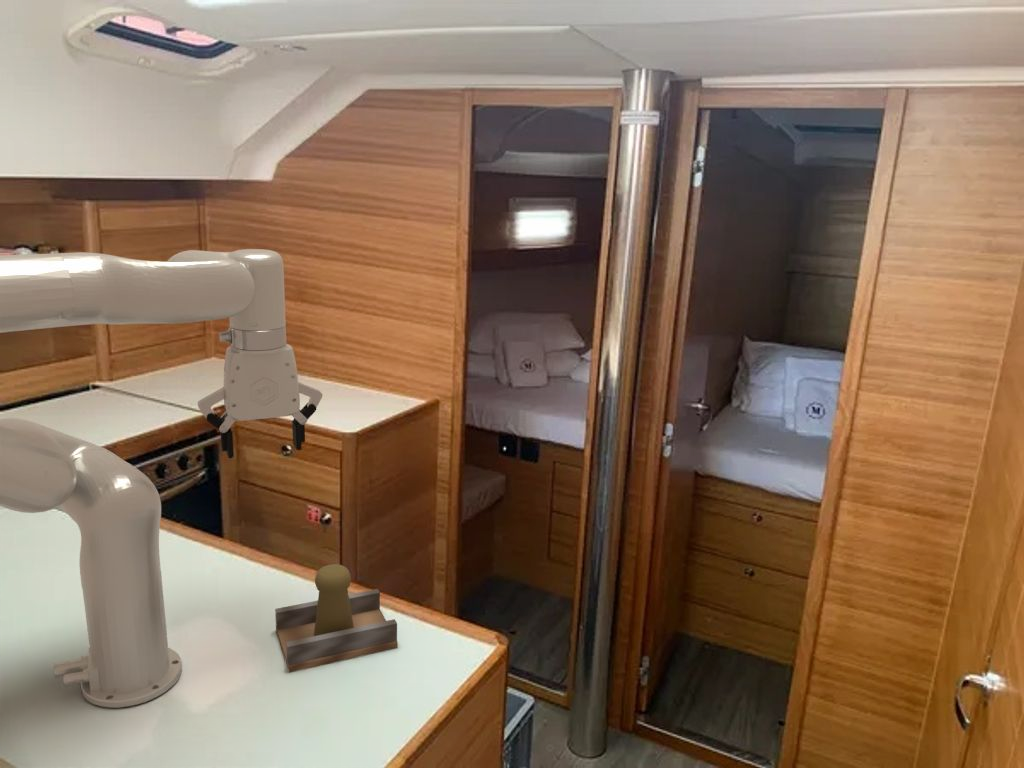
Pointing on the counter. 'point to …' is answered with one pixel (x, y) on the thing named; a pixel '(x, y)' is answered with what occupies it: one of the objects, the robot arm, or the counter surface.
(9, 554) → the counter surface
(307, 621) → the track
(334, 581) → the olive brown pawn
